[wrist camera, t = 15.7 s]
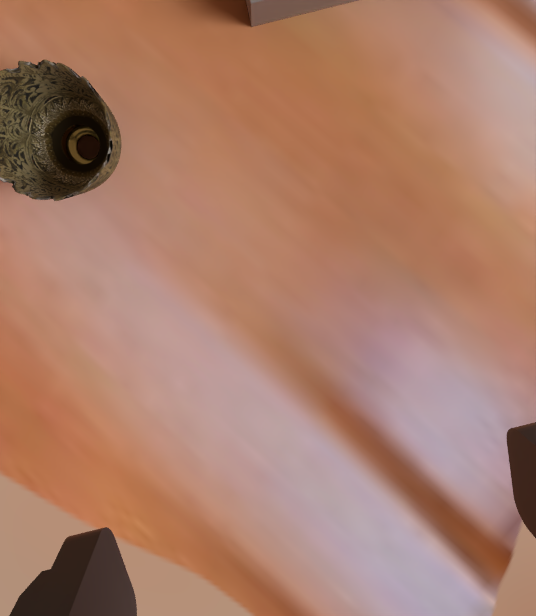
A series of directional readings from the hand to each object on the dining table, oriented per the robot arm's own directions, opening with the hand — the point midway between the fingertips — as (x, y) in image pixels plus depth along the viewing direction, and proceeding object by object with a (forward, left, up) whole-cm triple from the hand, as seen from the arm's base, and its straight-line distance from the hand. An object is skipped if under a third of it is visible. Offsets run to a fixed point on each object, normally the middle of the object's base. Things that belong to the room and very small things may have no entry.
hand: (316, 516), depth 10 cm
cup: (-10, +13, -29) cm, 33 cm away
